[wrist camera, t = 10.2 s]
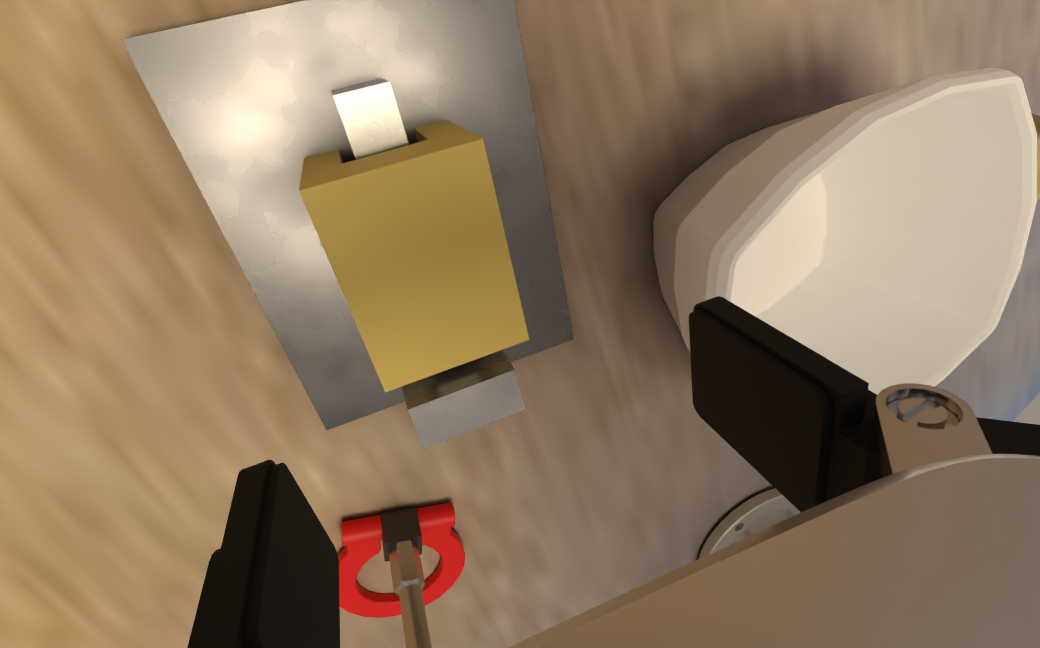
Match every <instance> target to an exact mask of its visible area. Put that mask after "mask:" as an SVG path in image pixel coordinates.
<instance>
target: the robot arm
mask: <svg viewBox="0 0 1040 648" xmlns="http://www.w3.org/2000/svg"><path fill="white" fill-rule="evenodd" d="M689 337H690V355H691V374H692V393H693V404H694V407H695V410H696V412H697V413H698V415H699V416H700V417H701V418H702V419H703V420H704V421H705V422H706V423H707V424H708V425H709V426H710V427H711V428H713V429H714V430H715V431H716V432H717V433H718V434H719V435H720V436H721V437H722V438H723V439H724V440H725V441H726V442H727V443H728V444H729V445H730V446H731V447H733V448H734V449H735V450H736V451H737V452H738V453H739V454H740V455H741V456H742V457H743V458H744V459H745V460H746V461H747V462H748V463H749V464H750V465H751V466H753V467H754V468H755V469H756V470H757V471H758V472H759V473H760V474H761V475H762V476H763V477H764V478H765V479H766V480H767V481H768V482H769V483H770V484H771V485H773V486H774V487H775V488H774V489H771V490H767V491H765V492H762V493H760V494H758V495H756V496H754V497H752V498H751V499H749V500H747V501H746V502H744V503H742V504H741V505H740V506H738V507H737V508H736V509H734V510H733V511H732V512H731V513H730V514H728V515H727V516H726V517H725V518H724V519H723V520H722V521H721V522H720V523H719V524H718V526H717V527H716V528H715V529H714V530H713V532H712V533H711V534H710V536H709V537H708V539H707V541H706V542H705V544H704V546H703V548H702V550H701V552H700V556H699V559H698V560H696V561H694V562H692V563H689V564H687V565H685V566H683V567H681V568H679V569H677V570H674V571H672V572H670V573H668V574H666V575H664V576H661V577H659V578H657V579H655V580H653V581H651V582H648V583H646V584H644V585H642V586H640V587H638V588H635V589H633V590H631V591H629V592H627V593H625V594H622V595H620V596H618V597H616V598H614V599H612V600H610V601H607V602H605V603H603V604H601V605H599V606H597V607H594V608H592V609H590V610H588V611H586V612H584V613H582V614H579V615H577V616H575V617H573V618H571V619H569V620H566V621H564V622H562V623H560V624H558V625H556V626H554V627H551V628H549V629H547V630H545V631H543V632H541V633H539V634H537V635H534V636H532V637H530V638H528V639H526V640H524V641H522V642H520V643H517V644H515V645H513V646H511V647H509V648H1040V425H1035V424H1026V423H1018V422H1010V421H1002V420H993V419H985V418H976V416H975V414H974V412H973V410H972V409H971V408H970V406H969V405H968V404H967V403H966V402H965V401H964V400H962V399H961V398H960V397H958V396H957V395H955V394H952V393H950V392H948V391H946V390H944V389H940V388H937V387H933V386H930V385H923V384H916V383H907V384H897V385H892V386H889V387H887V388H885V389H883V390H881V391H880V393H879V394H878V395H877V394H875V393H873V392H872V391H870V390H868V386H869V383H868V382H866V381H864V380H862V379H861V378H859V377H857V376H856V375H854V374H852V373H851V372H849V371H847V370H845V369H844V368H842V367H840V366H839V365H837V364H835V363H834V362H832V361H830V360H828V359H827V358H825V357H823V356H822V355H820V354H818V353H817V352H815V351H813V350H811V349H810V348H808V347H806V346H805V345H803V344H801V343H800V342H798V341H796V340H794V339H793V338H791V337H789V336H788V335H786V334H784V333H783V332H781V331H779V330H777V329H776V328H774V327H772V326H771V325H769V324H767V323H766V322H764V321H762V320H760V319H759V318H757V317H755V316H754V315H752V314H750V313H749V312H747V311H745V310H743V309H742V308H740V307H738V306H737V305H735V304H733V303H732V302H730V301H728V300H726V299H725V298H723V297H720V296H717V297H714V298H711V299H709V300H706V301H703V302H700V303H698V304H696V305H695V306H694V309H693V312H691V313H690V314H689ZM188 648H340V610H339V560H338V555H337V552H336V549H335V547H334V545H333V543H332V542H331V540H330V538H329V536H328V535H327V533H326V531H325V530H324V528H323V526H322V525H321V523H320V521H319V520H318V518H317V516H316V515H315V513H314V511H313V510H312V508H311V506H310V504H309V503H308V501H307V499H306V498H305V496H304V494H303V493H302V491H301V489H300V488H299V486H298V484H297V483H296V481H295V479H294V478H293V476H292V474H291V472H290V471H289V469H288V467H287V466H286V465H285V464H284V463H280V464H277V465H276V464H275V463H274V462H273V461H272V460H267V461H264V462H262V463H259V464H256V465H253V466H251V467H248V468H245V469H243V470H241V471H240V472H239V474H238V478H237V482H236V486H235V491H234V495H233V499H232V503H231V508H230V512H229V516H228V520H227V525H226V529H225V533H224V537H223V542H222V546H221V549H218V550H216V551H215V552H214V553H213V554H212V556H211V559H210V561H209V565H208V569H207V573H206V577H205V580H204V584H203V588H202V592H201V596H200V600H199V604H198V608H197V612H196V616H195V620H194V624H193V628H192V632H191V636H190V640H189V644H188Z"/></svg>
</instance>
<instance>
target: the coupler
mask: <svg viewBox="0 0 1040 648" xmlns="http://www.w3.org/2000/svg"><path fill="white" fill-rule="evenodd" d="M121 41H122V43H123V44H124V46H125V48H126V50H127V52H128V54H129V56H130V58H131V60H132V62H133V63H134V65H135V67H136V69H137V71H138V73H139V75H140V77H141V79H142V81H143V82H144V84H145V86H146V88H147V90H148V92H149V94H150V96H151V98H152V100H153V101H154V103H155V105H156V107H157V109H158V111H159V113H160V115H161V117H162V119H163V120H164V122H165V124H166V126H167V128H168V130H169V132H170V134H171V136H172V138H173V139H174V141H175V143H176V145H177V147H178V149H179V151H180V153H181V155H182V156H183V158H184V160H185V162H186V164H187V166H188V168H189V170H190V172H191V174H192V175H193V177H194V179H195V181H196V183H197V185H198V187H199V189H200V191H201V193H202V194H203V196H204V198H205V200H206V202H207V204H208V206H209V208H210V210H211V212H212V213H213V215H214V217H215V219H216V221H217V223H218V225H219V227H220V229H221V231H222V232H223V234H224V236H225V238H226V240H227V242H228V244H229V246H230V248H231V250H232V251H233V253H234V255H235V257H236V259H237V261H238V263H239V265H240V267H241V269H242V270H243V272H244V274H245V276H246V278H247V280H248V282H249V284H250V286H251V288H252V289H253V291H254V293H255V295H256V297H257V299H258V301H259V303H260V305H261V306H262V308H263V310H264V312H265V314H266V316H267V318H268V320H269V322H270V324H271V325H272V327H273V329H274V331H275V333H276V335H277V337H278V339H279V341H280V343H281V344H282V346H283V348H284V350H285V352H286V354H287V356H288V358H289V360H290V362H291V363H292V365H293V367H294V369H295V371H296V373H297V375H298V377H299V379H300V381H301V382H302V384H303V386H304V388H305V390H306V392H307V394H308V396H309V398H310V400H311V401H312V403H313V405H314V407H315V409H316V411H317V413H318V415H319V417H320V419H321V420H322V422H323V424H324V426H325V428H326V430H329V429H332V428H334V427H337V426H340V425H342V424H345V423H348V422H350V421H353V420H356V419H359V418H361V417H364V416H367V415H369V414H372V413H375V412H377V411H380V410H383V409H386V408H388V407H391V406H394V405H396V404H399V403H402V402H404V401H406V404H407V408H408V411H409V414H410V416H411V419H412V421H413V424H414V426H415V428H416V431H417V433H418V436H419V438H420V441H421V443H422V446H423V448H424V449H426V448H429V447H431V446H434V445H436V444H439V443H441V442H444V441H446V440H449V439H452V438H454V437H457V436H459V435H462V434H464V433H467V432H470V431H472V430H475V429H477V428H480V427H482V426H485V425H487V424H490V423H493V422H495V421H498V420H500V419H503V418H505V417H508V416H510V415H513V414H516V413H518V412H521V411H523V410H525V408H524V404H523V400H522V396H521V392H520V388H519V385H518V381H517V377H516V373H515V369H514V368H513V366H512V365H511V363H510V362H513V361H515V360H518V359H521V358H523V357H526V356H529V355H531V354H534V353H537V352H540V351H542V350H545V349H548V348H550V347H553V346H556V345H558V344H561V343H564V342H567V341H569V340H572V339H573V334H572V328H571V322H570V317H569V311H568V305H567V299H566V294H565V288H564V282H563V277H562V271H561V265H560V259H559V254H558V248H557V242H556V237H555V231H554V225H553V220H552V214H551V208H550V202H549V197H548V191H547V185H546V180H545V174H544V168H543V162H542V157H541V151H540V145H539V140H538V134H537V128H536V122H535V117H534V111H533V105H532V100H531V94H530V88H529V83H528V77H527V71H526V65H525V60H524V54H523V48H522V43H521V37H520V31H519V25H518V20H517V14H516V8H515V3H514V0H304V1H299V2H295V3H290V4H285V5H281V6H276V7H271V8H267V9H262V10H257V11H253V12H248V13H243V14H239V15H234V16H229V17H225V18H220V19H215V20H211V21H206V22H201V23H197V24H192V25H187V26H183V27H178V28H173V29H169V30H164V31H159V32H155V33H150V34H145V35H141V36H136V37H131V38H127V39H122V40H121ZM445 119H446V120H448V121H450V122H452V123H454V124H456V125H457V126H459V127H461V128H463V129H465V130H467V131H469V132H471V133H473V134H475V135H477V136H479V137H481V138H483V141H484V145H485V150H486V154H487V158H488V163H489V167H490V171H491V176H492V180H493V184H494V189H495V193H496V197H497V202H498V206H499V210H500V215H501V219H502V223H503V228H504V232H505V236H506V241H507V245H508V249H509V254H510V258H511V262H512V267H513V271H514V275H515V280H516V284H517V288H518V293H519V297H520V302H521V306H522V310H523V315H524V319H525V323H526V328H527V332H528V336H529V340H527V341H524V342H522V343H519V344H516V345H514V346H511V347H508V348H505V349H503V350H500V351H497V352H494V353H492V354H489V355H486V356H483V357H481V358H478V359H475V360H473V361H470V362H467V363H464V364H462V365H459V366H456V367H453V368H451V369H448V370H445V371H443V372H440V373H437V374H434V375H432V376H429V377H426V378H423V379H421V380H418V381H415V382H412V383H410V384H407V385H404V386H402V387H399V388H396V389H393V390H391V391H388V392H385V391H384V388H383V386H382V384H381V381H380V379H379V377H378V374H377V372H376V370H375V367H374V365H373V363H372V360H371V358H370V356H369V353H368V351H367V349H366V346H365V344H364V342H363V339H362V337H361V335H360V332H359V330H358V328H357V325H356V323H355V321H354V318H353V316H352V314H351V311H350V309H349V307H348V304H347V302H346V300H345V297H344V295H343V293H342V290H341V288H340V286H339V284H338V281H337V279H336V277H335V274H334V272H333V270H332V267H331V265H330V263H329V260H328V258H327V256H326V253H325V251H324V249H323V246H322V244H321V242H320V239H319V237H318V235H317V232H316V230H315V228H314V225H313V223H312V221H311V218H310V216H309V214H308V211H307V209H306V207H305V204H304V202H303V200H302V197H301V195H300V193H299V186H300V179H301V173H302V166H303V160H304V158H306V157H309V156H313V155H317V154H320V153H324V152H328V151H331V150H335V149H338V150H339V152H340V155H341V158H342V160H343V163H346V162H350V161H353V160H357V159H360V158H364V157H368V156H371V155H375V154H378V153H382V152H386V151H389V150H393V149H396V148H400V147H404V146H407V145H411V144H414V143H418V141H417V137H416V134H415V130H414V128H416V127H419V126H423V125H427V124H430V123H434V122H438V121H441V120H445Z"/></svg>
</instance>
